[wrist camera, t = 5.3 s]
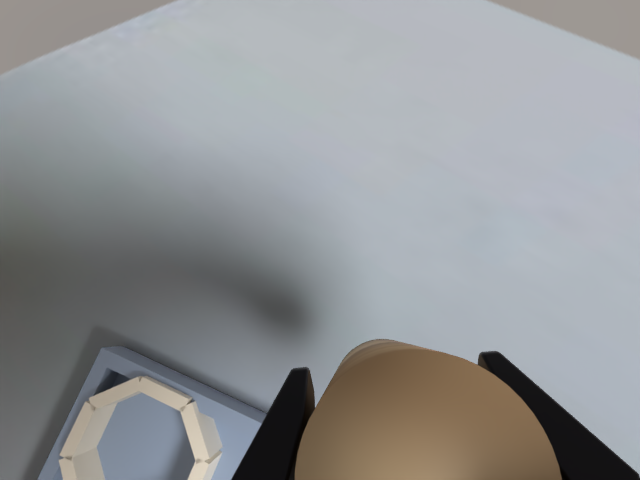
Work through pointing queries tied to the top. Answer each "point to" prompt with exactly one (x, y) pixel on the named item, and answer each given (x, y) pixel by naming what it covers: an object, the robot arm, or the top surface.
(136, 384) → the tray
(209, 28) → the top surface
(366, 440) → the peg
